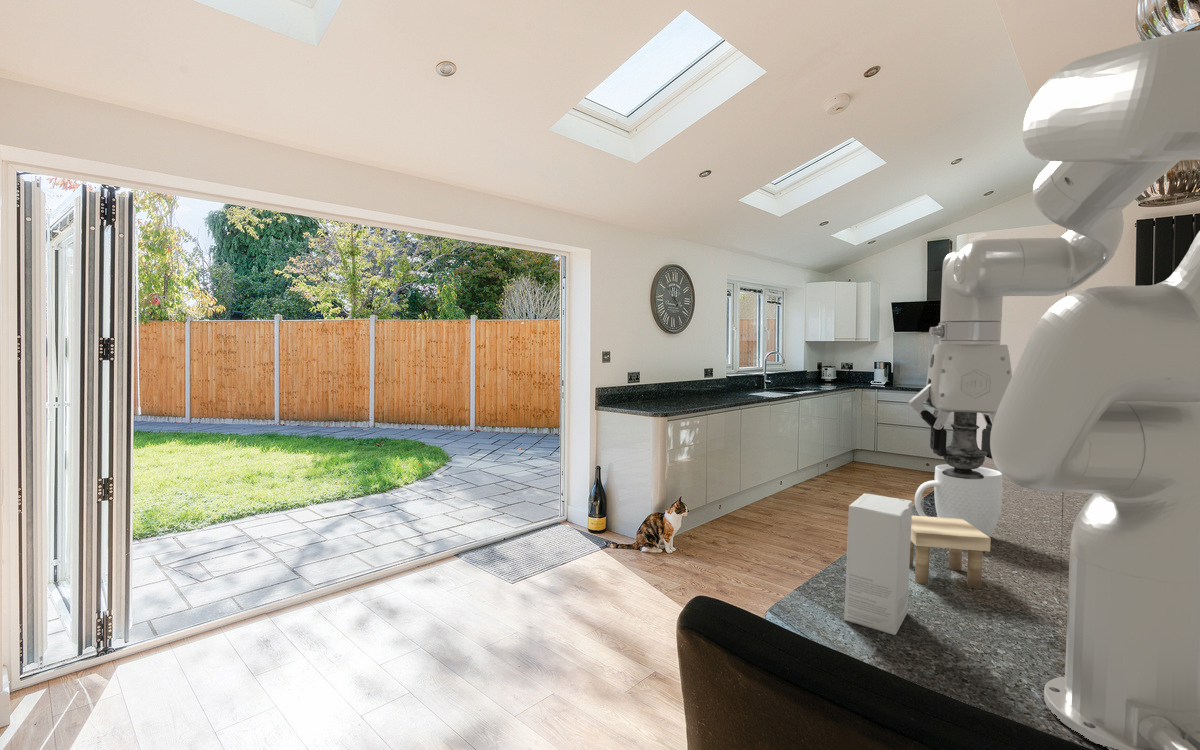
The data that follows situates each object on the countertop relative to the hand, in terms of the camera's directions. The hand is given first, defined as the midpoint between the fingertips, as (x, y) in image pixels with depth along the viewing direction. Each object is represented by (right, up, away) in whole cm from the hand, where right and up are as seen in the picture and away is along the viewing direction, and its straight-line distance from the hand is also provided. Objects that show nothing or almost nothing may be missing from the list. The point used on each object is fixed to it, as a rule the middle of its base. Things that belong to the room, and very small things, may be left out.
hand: (963, 454), depth 82 cm
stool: (0, -20, +6) cm, 21 cm away
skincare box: (-17, -21, -9) cm, 28 cm away
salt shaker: (0, -3, 0) cm, 3 cm away
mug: (+16, -20, +25) cm, 36 cm away
